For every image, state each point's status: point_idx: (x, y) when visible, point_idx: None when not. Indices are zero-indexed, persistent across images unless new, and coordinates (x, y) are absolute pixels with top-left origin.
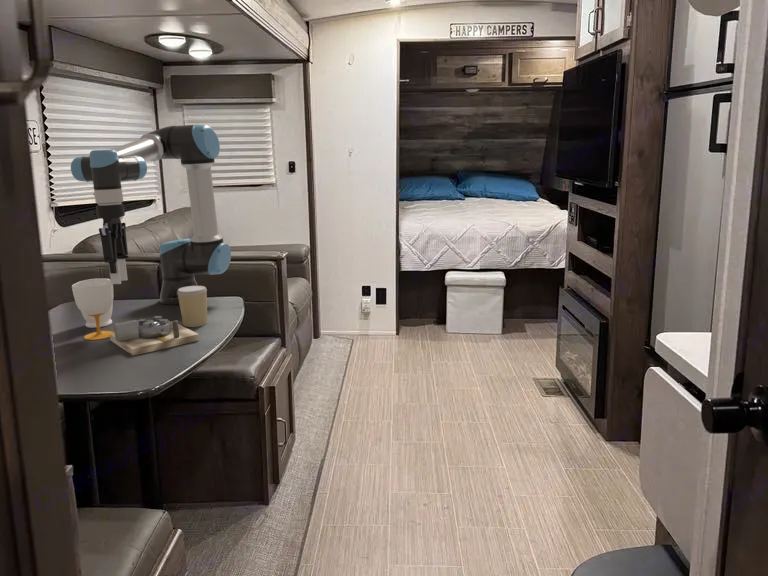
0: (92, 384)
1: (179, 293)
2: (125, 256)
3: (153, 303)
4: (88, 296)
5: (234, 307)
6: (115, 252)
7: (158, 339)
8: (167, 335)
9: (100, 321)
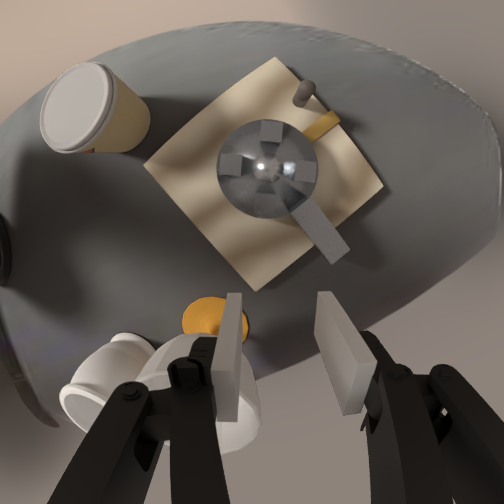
0: (482, 210)
1: (102, 127)
2: (195, 381)
3: (11, 293)
4: (257, 394)
5: (29, 104)
6: (419, 420)
7: (316, 142)
8: None
9: (145, 352)
